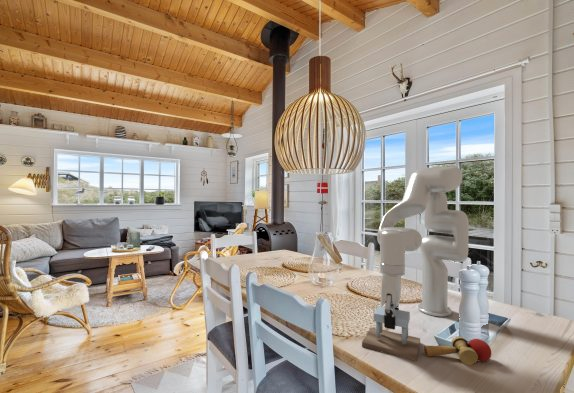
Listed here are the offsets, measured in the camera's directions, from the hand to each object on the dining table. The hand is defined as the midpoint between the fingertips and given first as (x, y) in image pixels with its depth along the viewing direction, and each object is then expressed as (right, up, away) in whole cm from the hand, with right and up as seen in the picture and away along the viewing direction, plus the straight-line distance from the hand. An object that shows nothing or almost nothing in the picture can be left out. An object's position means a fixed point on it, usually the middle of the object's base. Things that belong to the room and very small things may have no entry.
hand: (391, 323), depth 94 cm
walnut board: (0, -7, 0) cm, 7 cm away
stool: (0, -5, 0) cm, 5 cm away
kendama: (+17, -8, -7) cm, 20 cm away
